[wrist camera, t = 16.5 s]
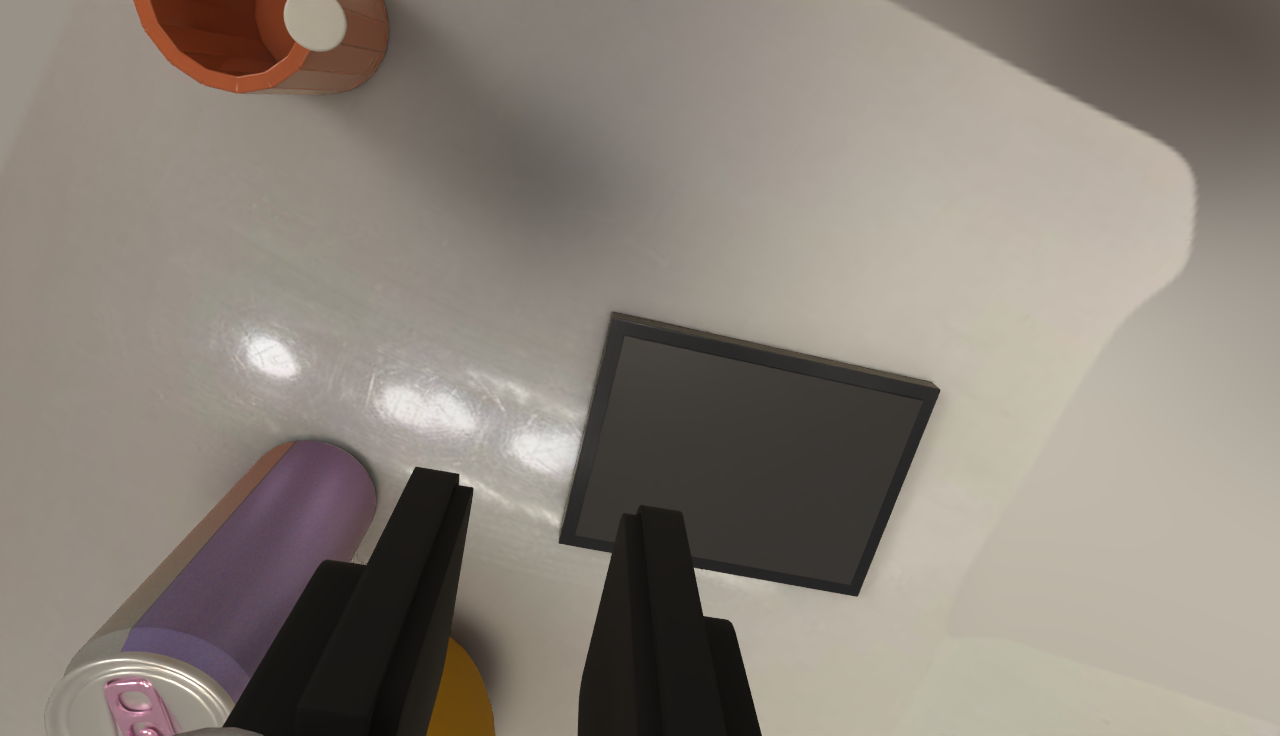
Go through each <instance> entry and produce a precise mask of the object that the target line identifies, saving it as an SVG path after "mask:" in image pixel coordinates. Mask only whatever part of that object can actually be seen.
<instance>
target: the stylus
mask: <svg viewBox="0 0 1280 736" xmlns="http://www.w3.org/2000/svg"><path fill="white" fill-rule="evenodd" d="M284 22H285V25H286V28H287V30H288V32H289V34H290V35H291V37H292V38H293V39H294V40H295V41H296V42H297V43H298V44H300V45H301V46H303V47H304V48H306V49H309V50H312V51H317V52H324V51H329V50H331V49H333V48H335V47H337V46H338V45H339V44H340V43H341V42H342V40H343V38H344V36H345V33H346V29H347V22H346V16H345V13H344V11H343V9H342V7H341V5H340V4H339V3H338V1H337V0H287V2H286V4H285V7H284Z"/></svg>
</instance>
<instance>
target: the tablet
mask: <svg viewBox="0 0 1280 736" xmlns="http://www.w3.org/2000/svg"><path fill="white" fill-rule="evenodd" d="M939 393H940V389H939V388H938V387H937V386H936V385H935V384H933V383H932V382H928V381H924V380H919V379H915V378H910V377H906V376H901V375H897V374H892V373H888V372H883V371H879V370H874V369H870V368H865V367H861V366H856V365H851V364H847V363H842V362H838V361H833V360H829V359H824V358H820V357H815V356H811V355H806V354H802V353H797V352H793V351H788V350H784V349H779V348H775V347H770V346H766V345H761V344H757V343H752V342H748V341H743V340H739V339H734V338H730V337H725V336H720V335H716V334H711V333H707V332H702V331H698V330H693V329H689V328H684V327H680V326H675V325H671V324H666V323H662V322H657V321H653V320H648V319H644V318H639V317H635V316H630V315H626V314H621V313H617V312H612V315H611V319H610V324H609V328H608V332H607V336H606V340H605V344H604V349H603V353H602V357H601V361H600V365H599V370H598V374H597V378H596V382H595V386H594V390H593V395H592V399H591V403H590V407H589V411H588V415H587V420H586V424H585V428H584V432H583V436H582V441H581V445H580V449H579V453H578V457H577V461H576V466H575V470H574V474H573V478H572V482H571V486H570V491H569V495H568V499H567V503H566V507H565V512H564V516H563V520H562V524H561V528H560V532H559V544H565V545H571V546H576V547H582V548H587V549H593V550H599V551H604V552H610V553H612V552H613V547H614V543H615V539H616V535H617V531H618V527H619V523H620V519H621V516H622V514H623V513H628V514H634V515H636V513H637V510H638V508H639V506H640V505H647V506H653V507H659V508H665V509H671V510H677V511H681V512H682V514H683V518H684V523H685V528H686V533H687V538H688V543H689V547H690V552H691V557H692V562H693V567H694V568H700V569H705V570H711V571H716V572H722V573H728V574H733V575H739V576H744V577H750V578H756V579H761V580H767V581H772V582H778V583H784V584H789V585H795V586H801V587H806V588H812V589H817V590H823V591H829V592H834V593H840V594H845V595H851V596H858V594H859V592H860V590H861V587H862V585H863V582H864V580H865V577H866V575H867V572H868V570H869V567H870V565H871V562H872V560H873V557H874V555H875V552H876V550H877V547H878V545H879V542H880V540H881V537H882V535H883V532H884V530H885V527H886V525H887V522H888V520H889V517H890V515H891V512H892V510H893V507H894V505H895V502H896V500H897V497H898V495H899V492H900V490H901V487H902V485H903V482H904V480H905V477H906V475H907V473H908V470H909V468H910V465H911V463H912V460H913V458H914V455H915V453H916V450H917V448H918V445H919V443H920V440H921V438H922V435H923V433H924V430H925V428H926V425H927V423H928V420H929V418H930V415H931V413H932V410H933V408H934V405H935V403H936V400H937V398H938V395H939Z"/></svg>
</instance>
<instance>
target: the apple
mask: <svg viewBox="0 0 1280 736" xmlns="http://www.w3.org/2000/svg"><path fill="white" fill-rule="evenodd" d="M426 736H495V729H494V718H493V712H492V707H491V704H490V701H489V698H488V694H487V691H486V688H485V685H484V682H483V680H482V678H481V676H480V674H479V671H478V669H477V667H476V665H475V664H474V662H473V661H472V659H471V658H470V656H469V655H468V654H467V652H466V651H465V649H464V648H463V647H462V646H461V645H460V644H459V643H457V642H456V641H455V640H454V639H453V638H451V637H450V636H449V642H448V648H447V654H446V660H445V665H444V669H443V674H442V678H441V682H440V686H439V690H438V694H437V697H436V701H435V705H434V708H433V712H432V716H431V720H430V723H429V727H428V731H427V734H426Z"/></svg>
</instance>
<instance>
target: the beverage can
mask: <svg viewBox="0 0 1280 736" xmlns="http://www.w3.org/2000/svg"><path fill="white" fill-rule="evenodd" d="M375 509H376V493H375V489H374V486H373V483H372V481H371V478H370V477H369V475H368V473H367V471H366V470H365V469H364V467H363V466H362V465H361V464H360V463H359V461H358V460H357V459H355V458H354V457H353V456H352V455H351V454H349V453H348V452H346V451H344V450H343V449H341V448H339V447H336V446H334V445H331V444H328V443H324V442H318V441H293V442H288V443H285V444H282V445H279V446H277V447H275V448H273V449H271V450H270V451H268V452H267V453H266V454H264V455H263V456H262V457H261V458H260V459H259V460H258V461H257V462H256V463H255V465H254V466H253V467H252V468H251V469H250V470H249V471H248V472H247V473H246V474H245V475H244V476H243V477H242V478H241V479H240V480H239V481H238V483H237V484H236V485H235V486H234V487H233V488H232V489H231V490H230V491H229V492H228V493H227V494H226V495H225V496H224V497H223V498H222V500H221V501H220V502H219V503H218V504H217V505H216V506H215V507H214V508H213V509H212V510H211V511H210V512H209V513H208V514H207V515H206V517H205V518H204V519H203V520H202V521H201V522H200V523H199V524H198V525H197V526H196V527H195V528H194V529H193V530H192V531H191V532H190V534H189V535H188V536H187V537H186V538H185V539H184V540H183V541H182V542H181V543H180V544H179V545H178V546H177V547H176V548H175V549H174V551H173V552H172V553H171V554H170V555H169V556H168V557H167V558H166V559H165V560H164V561H163V562H162V563H161V564H160V565H159V566H158V568H157V569H156V570H155V571H154V572H153V573H152V574H151V575H150V576H149V577H148V578H147V579H146V580H145V581H144V582H143V583H142V584H141V586H140V587H139V588H138V589H137V590H136V591H135V592H134V593H133V594H132V595H131V596H130V597H129V598H128V599H127V600H126V601H125V603H124V604H123V605H122V606H121V607H120V608H119V609H118V610H117V611H116V612H115V613H114V614H113V615H112V616H111V617H110V618H109V620H108V621H107V622H106V623H105V624H104V625H103V626H102V627H101V628H100V629H99V630H98V631H97V632H96V633H95V634H94V635H93V637H92V638H91V639H90V640H89V641H88V642H87V643H86V644H85V645H84V646H83V647H82V648H81V649H80V650H79V651H78V652H77V654H76V655H75V656H74V657H73V658H72V660H71V661H70V663H69V665H68V667H67V669H66V671H65V674H64V676H63V678H62V679H61V680H60V681H59V683H58V684H57V685H56V686H55V688H54V689H53V691H52V692H51V694H50V696H49V698H48V701H47V704H46V708H45V716H44V722H45V730H46V734H47V736H173V735H175V734H179V733H183V732H188V731H193V730H197V729H202V728H207V727H222V726H223V725H224V723H225V721H226V720H227V718H228V716H229V715H230V713H231V711H232V710H233V708H234V706H235V705H236V703H237V701H238V699H239V698H240V696H241V694H242V693H243V691H244V689H245V688H246V686H247V684H248V683H249V681H250V679H251V678H252V676H253V674H254V673H255V671H256V669H257V668H258V666H259V664H260V663H261V661H262V659H263V658H264V656H265V654H266V653H267V651H268V649H269V648H270V646H271V644H272V643H273V641H274V639H275V638H276V636H277V634H278V633H279V631H280V629H281V627H282V626H283V624H284V622H285V621H286V619H287V617H288V616H289V614H290V612H291V611H292V609H293V607H294V606H295V604H296V602H297V601H298V599H299V597H300V596H301V594H302V592H303V591H304V589H305V587H306V586H307V584H308V582H309V581H310V579H311V577H312V576H313V574H314V572H315V571H316V569H317V568H318V566H319V565H320V564H321V562H322V561H324V560H326V559H328V560H335V561H341V562H348V563H350V561H351V559H352V557H353V555H354V553H355V552H356V550H357V548H358V546H359V544H360V542H361V540H362V539H363V537H364V535H365V533H366V531H367V529H368V527H369V526H370V524H371V522H372V520H373V517H374V514H375Z"/></svg>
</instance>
